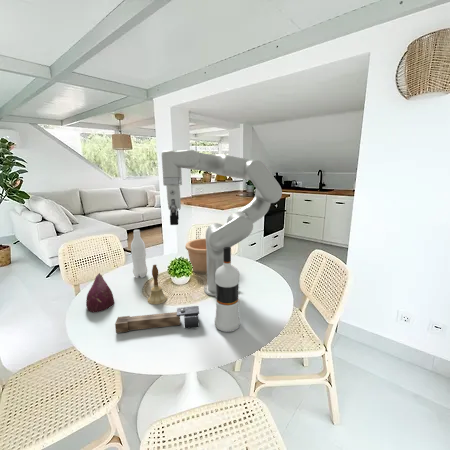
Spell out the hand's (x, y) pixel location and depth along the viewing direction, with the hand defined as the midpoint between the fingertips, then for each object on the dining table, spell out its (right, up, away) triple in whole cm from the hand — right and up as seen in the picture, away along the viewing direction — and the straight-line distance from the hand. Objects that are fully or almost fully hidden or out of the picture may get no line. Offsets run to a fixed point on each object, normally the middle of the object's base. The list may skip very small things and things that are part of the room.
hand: (174, 222), depth 108 cm
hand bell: (-8, -34, +3) cm, 35 cm away
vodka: (+22, -38, -15) cm, 47 cm away
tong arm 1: (-6, -38, -17) cm, 42 cm away
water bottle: (-23, -28, +26) cm, 45 cm away
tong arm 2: (-6, -37, -15) cm, 41 cm away
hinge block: (+8, -37, -14) cm, 41 cm away
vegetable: (-31, -35, -2) cm, 47 cm away
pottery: (+11, -26, +36) cm, 46 cm away
